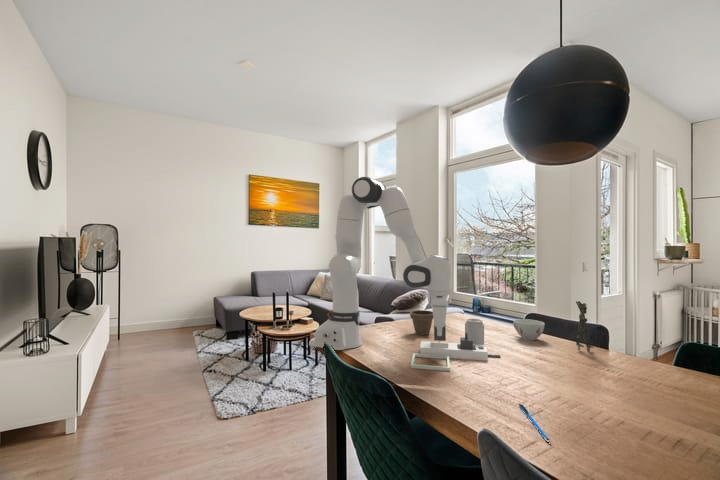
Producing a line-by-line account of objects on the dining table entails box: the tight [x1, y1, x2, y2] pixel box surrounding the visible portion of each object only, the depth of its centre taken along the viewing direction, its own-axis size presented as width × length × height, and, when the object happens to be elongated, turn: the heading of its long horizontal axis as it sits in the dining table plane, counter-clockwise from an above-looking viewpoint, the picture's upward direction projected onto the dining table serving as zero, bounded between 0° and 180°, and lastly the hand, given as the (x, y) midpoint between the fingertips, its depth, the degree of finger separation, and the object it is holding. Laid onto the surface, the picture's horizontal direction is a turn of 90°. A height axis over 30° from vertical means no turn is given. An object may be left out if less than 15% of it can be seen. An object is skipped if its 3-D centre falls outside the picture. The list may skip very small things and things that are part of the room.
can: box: [464, 318, 485, 345], centre depth 144 cm, size 8×8×12 cm
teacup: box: [512, 318, 546, 341], centre depth 161 cm, size 15×12×8 cm
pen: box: [518, 403, 550, 440], centre depth 85 cm, size 1×19×1 cm, turn 175°
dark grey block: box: [433, 324, 447, 342], centre depth 136 cm, size 4×4×6 cm
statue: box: [575, 300, 595, 352], centre depth 142 cm, size 5×6×20 cm
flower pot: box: [409, 309, 434, 336], centre depth 170 cm, size 12×11×10 cm
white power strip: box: [419, 340, 501, 361], centre depth 134 cm, size 29×9×5 cm, turn 77°
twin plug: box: [459, 331, 473, 350], centre depth 134 cm, size 4×4×8 cm
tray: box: [410, 352, 451, 372], centre depth 125 cm, size 13×13×2 cm
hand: (439, 333), depth 136 cm, fingers closed on dark grey block, 4 cm apart
